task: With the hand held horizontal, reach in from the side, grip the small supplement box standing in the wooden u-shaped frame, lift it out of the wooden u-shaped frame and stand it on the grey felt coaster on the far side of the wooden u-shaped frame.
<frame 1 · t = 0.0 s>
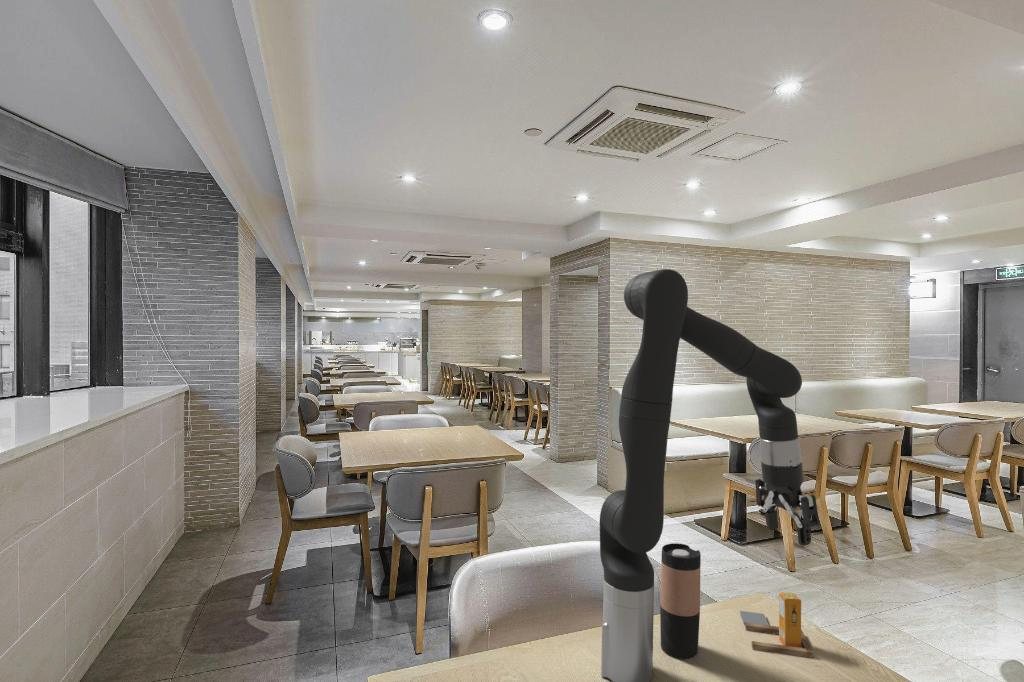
hand: (788, 536, 109), 22 cm above the table, tool pointing down, fingers open, 8 cm apart
wooden u-shaped frame: (774, 641, 111), on the table
supplement box: (789, 644, 110), resting in wooden u-shaped frame
travel mug: (678, 649, 108), on the table
coaster: (754, 620, 119), on the table
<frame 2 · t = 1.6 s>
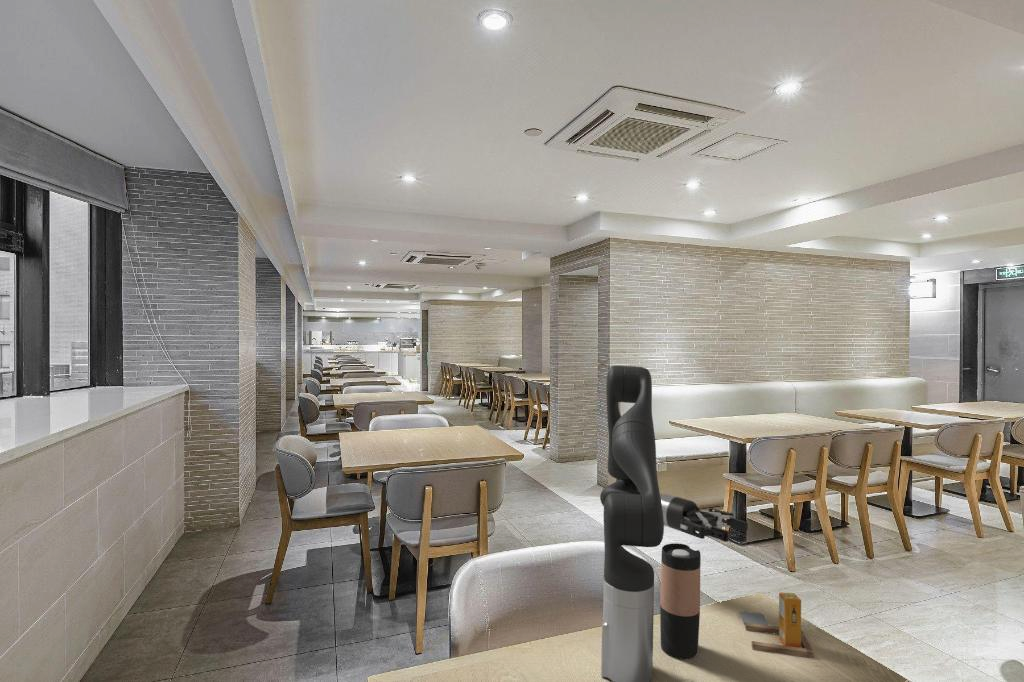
hand: (738, 531, 118), 20 cm above the table, tool horizontal, fingers open, 8 cm apart
nothing on the table moved.
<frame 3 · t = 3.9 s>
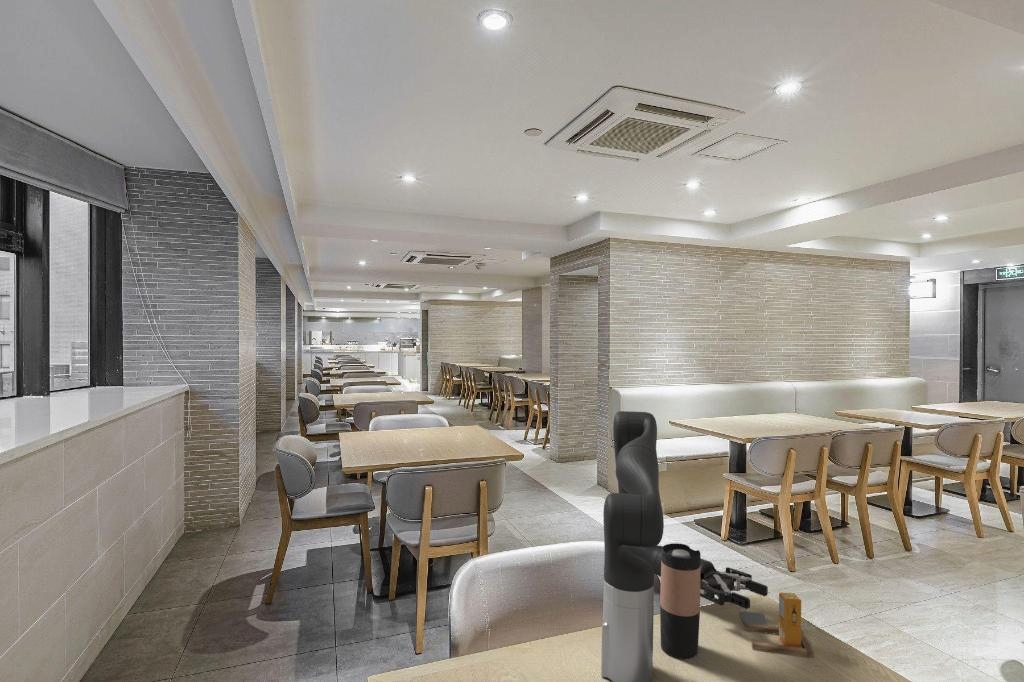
hand: (758, 597, 115), 7 cm above the table, tool horizontal, fingers open, 8 cm apart
nothing on the table moved.
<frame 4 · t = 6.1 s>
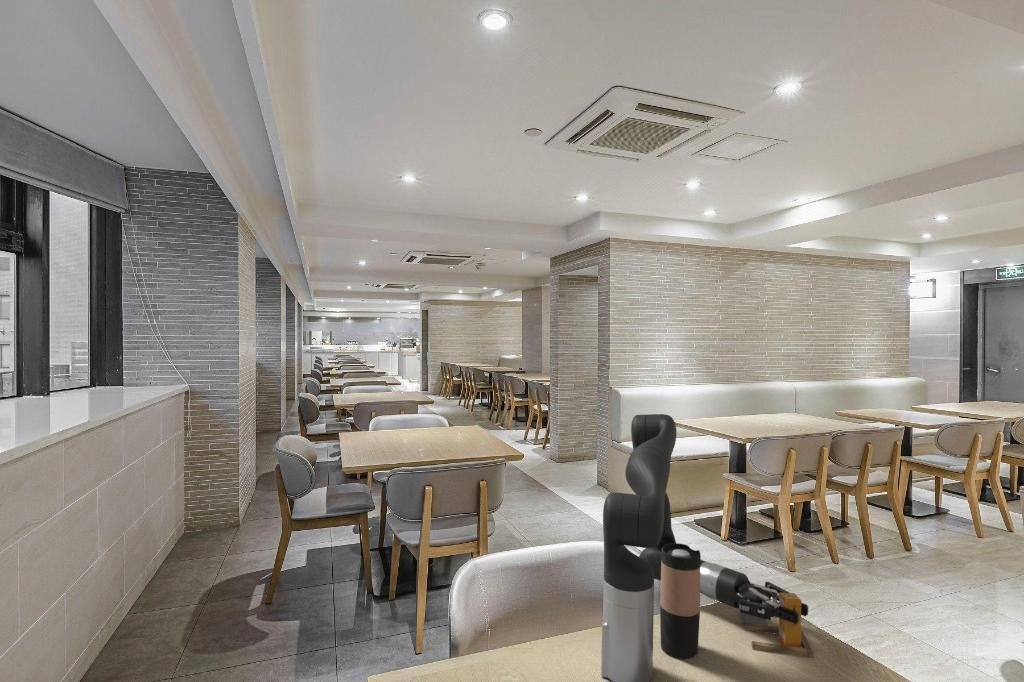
hand: (802, 614, 108), 7 cm above the table, tool horizontal, fingers closed on supplement box, 4 cm apart
supplement box: (789, 644, 110), resting in wooden u-shaped frame, touching gripper
everything else where it was.
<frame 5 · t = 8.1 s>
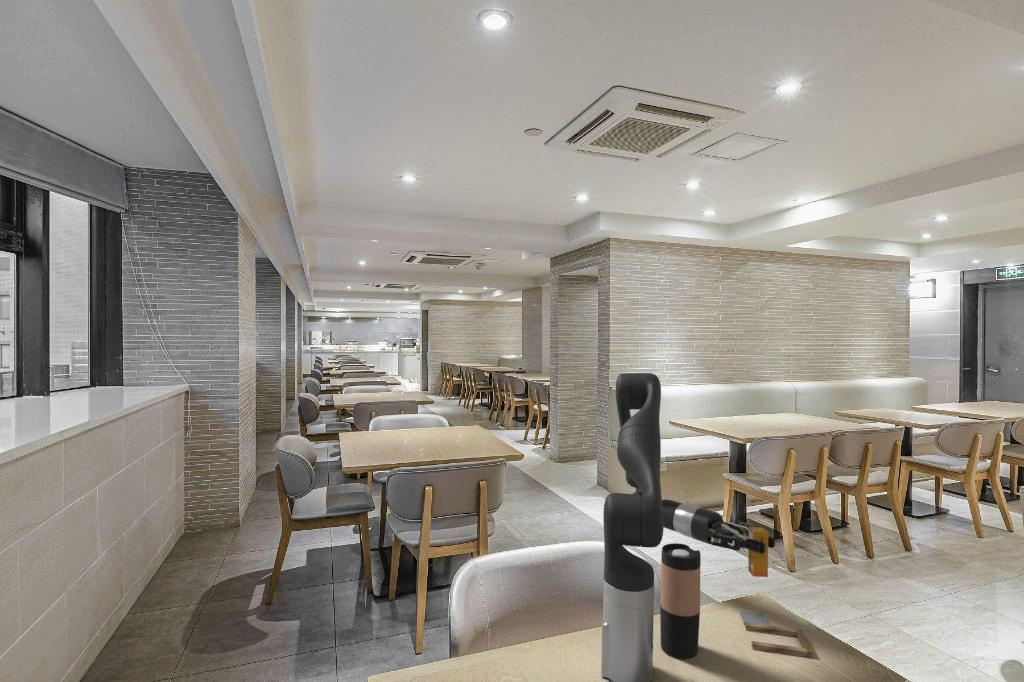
hand: (769, 545, 116), 18 cm above the table, tool horizontal, fingers closed on supplement box, 4 cm apart
supplement box: (757, 574, 118), point 10 cm above the table, touching gripper
everything else where it was.
when the fingers open (8 cm above the table, at t = 10.2 s): supplement box stays where it is, resting on coaster.
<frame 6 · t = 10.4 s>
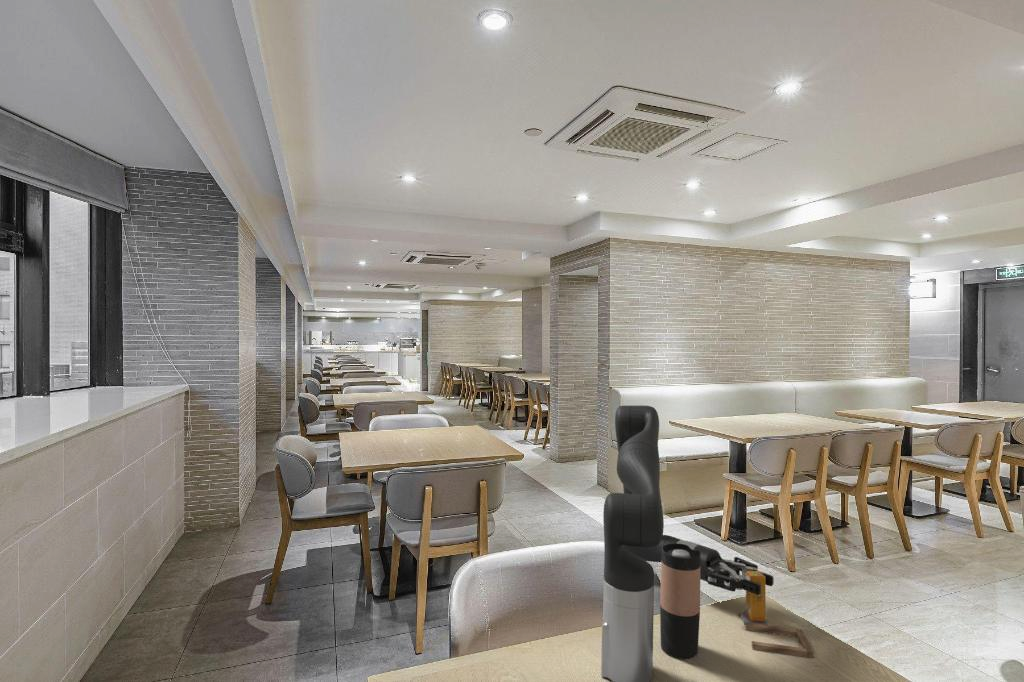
hand: (766, 585, 117), 9 cm above the table, tool horizontal, fingers open, 5 cm apart
supplement box: (755, 619, 119), resting on coaster
everything else where it was.
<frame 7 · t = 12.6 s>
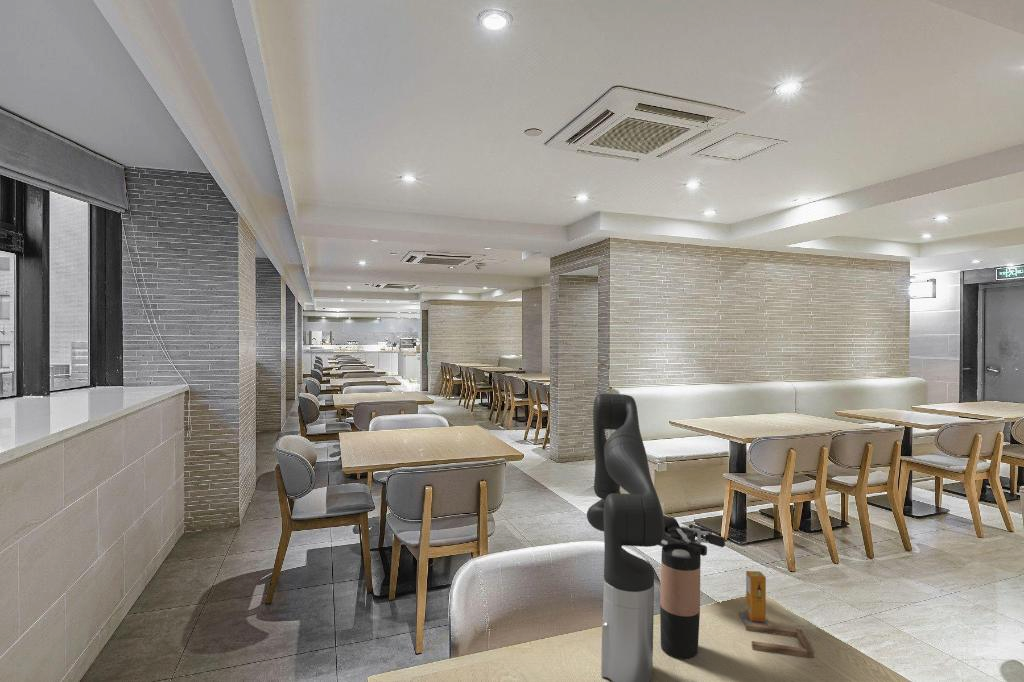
hand: (715, 546, 125), 14 cm above the table, tool horizontal, fingers open, 8 cm apart
nothing on the table moved.
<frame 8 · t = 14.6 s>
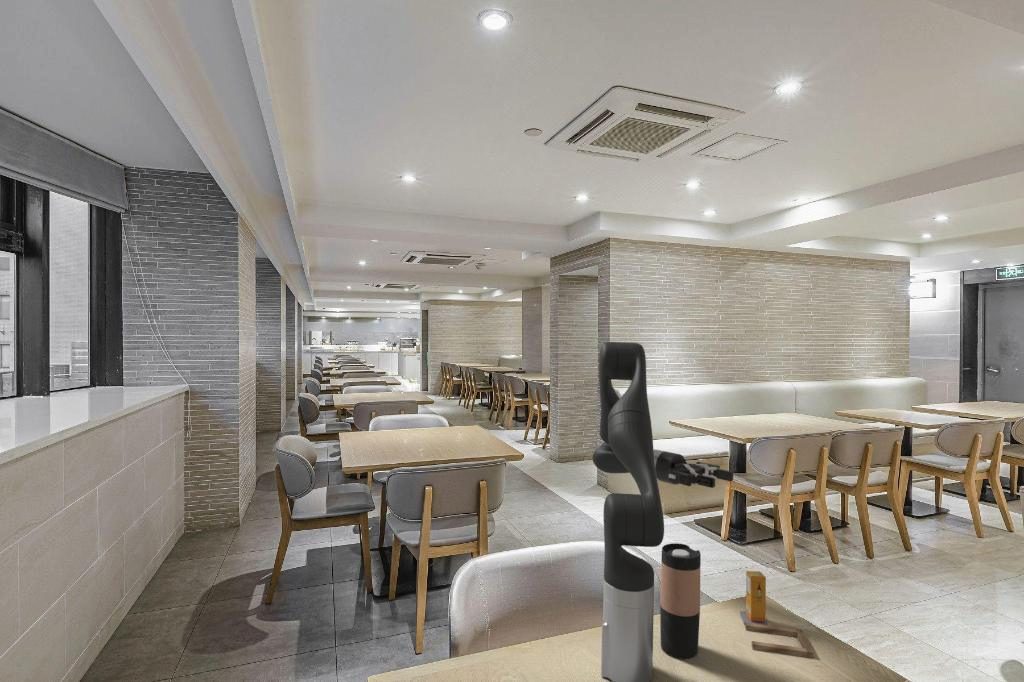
hand: (723, 479, 123), 30 cm above the table, tool horizontal, fingers open, 8 cm apart
nothing on the table moved.
at the end: supplement box 0.2 cm off-centre on the coaster, point 0.4 cm above the coaster's base; supplement box tilted 0°; the gripper is holding nothing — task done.
